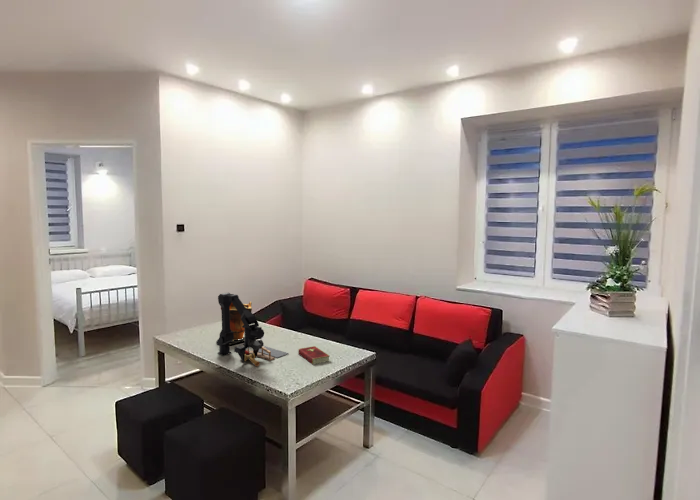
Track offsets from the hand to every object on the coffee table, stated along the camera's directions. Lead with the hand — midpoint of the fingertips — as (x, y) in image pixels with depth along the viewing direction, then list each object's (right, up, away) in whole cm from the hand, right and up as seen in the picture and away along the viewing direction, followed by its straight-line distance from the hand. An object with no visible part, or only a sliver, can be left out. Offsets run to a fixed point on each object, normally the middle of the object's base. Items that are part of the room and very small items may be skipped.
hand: (249, 360), depth 249 cm
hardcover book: (+39, -2, +10) cm, 40 cm away
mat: (+10, 0, +18) cm, 20 cm away
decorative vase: (-21, +3, +47) cm, 51 cm away
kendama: (+1, -1, 0) cm, 2 cm away
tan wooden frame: (+5, 0, +10) cm, 11 cm away
